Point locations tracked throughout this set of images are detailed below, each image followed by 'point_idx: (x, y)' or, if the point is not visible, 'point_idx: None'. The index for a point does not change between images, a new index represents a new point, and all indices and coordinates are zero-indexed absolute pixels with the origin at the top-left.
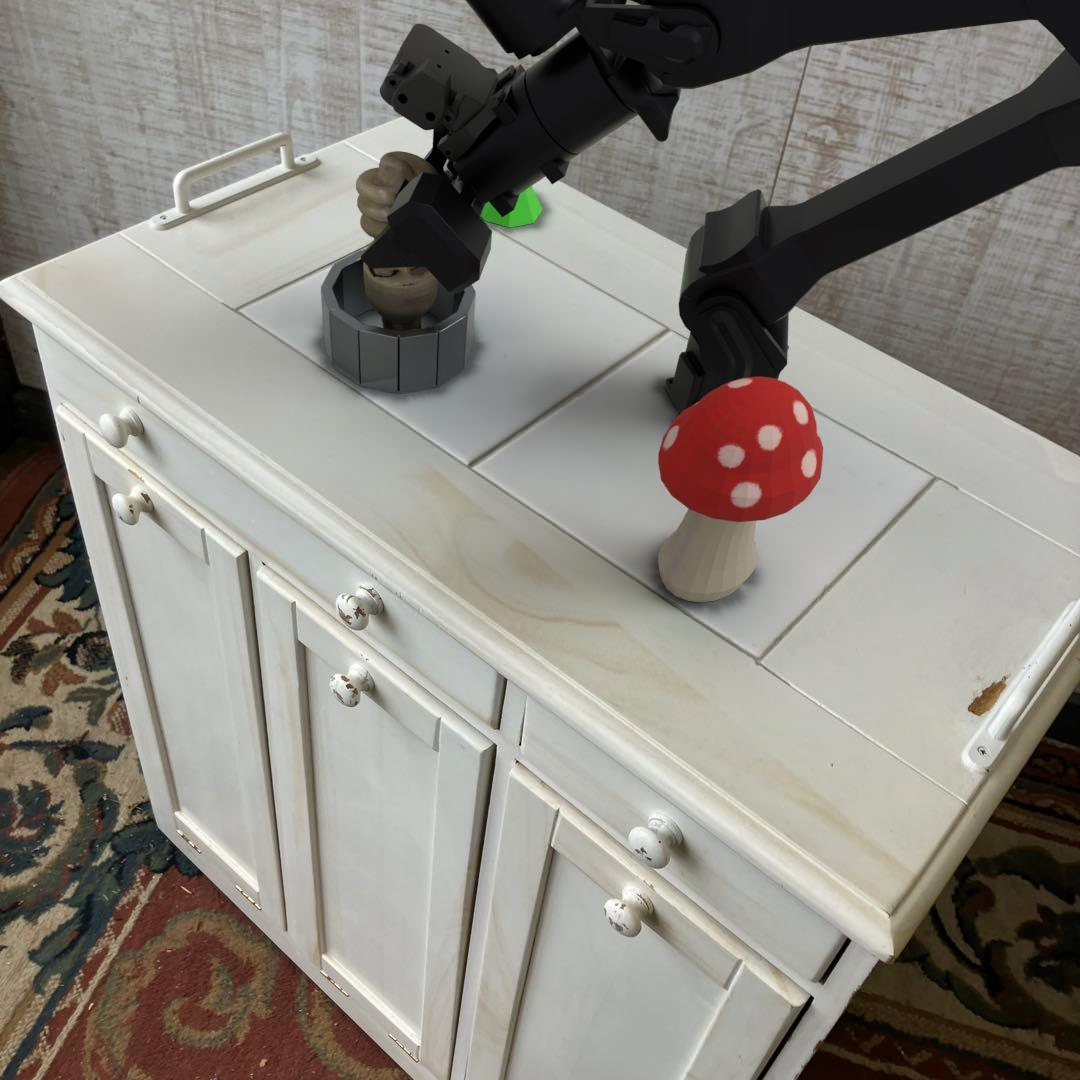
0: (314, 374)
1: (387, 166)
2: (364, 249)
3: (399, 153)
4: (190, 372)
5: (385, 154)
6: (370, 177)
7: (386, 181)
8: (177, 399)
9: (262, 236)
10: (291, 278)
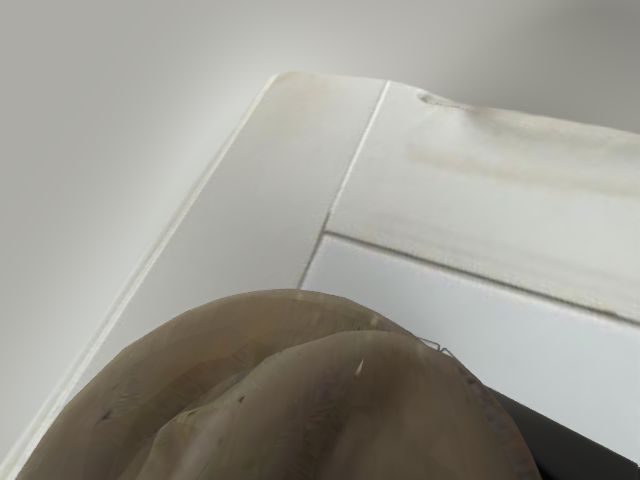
0: None
1: (181, 439)
2: (445, 351)
3: (444, 418)
4: (192, 251)
5: (373, 341)
6: (244, 344)
7: (140, 472)
8: (143, 264)
9: (489, 178)
10: (426, 253)
